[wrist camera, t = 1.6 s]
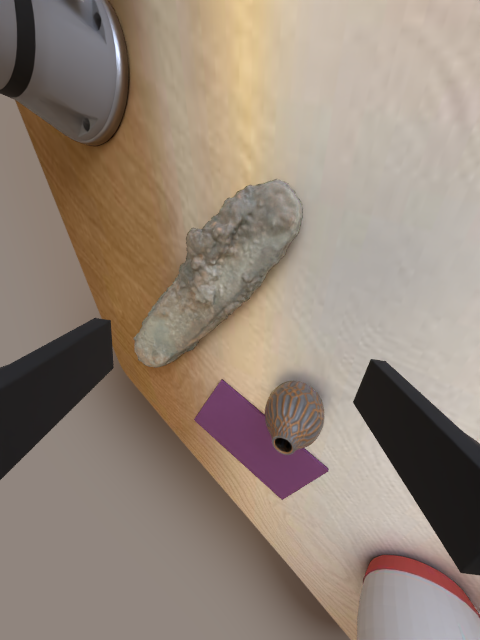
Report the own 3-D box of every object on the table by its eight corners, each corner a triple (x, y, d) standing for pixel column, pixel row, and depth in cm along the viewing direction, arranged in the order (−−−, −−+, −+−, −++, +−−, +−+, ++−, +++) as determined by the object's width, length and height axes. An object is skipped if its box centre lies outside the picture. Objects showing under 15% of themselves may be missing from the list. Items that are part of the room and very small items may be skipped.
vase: (309, 366, 29) (295, 411, 21) (336, 411, 29) (331, 471, 21) (266, 381, 32) (240, 424, 25) (290, 421, 32) (272, 475, 25)
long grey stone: (139, 330, 43) (173, 369, 43) (114, 343, 38) (153, 387, 38) (263, 152, 23) (328, 226, 23) (241, 137, 18) (321, 228, 18)
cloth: (195, 418, 42) (193, 419, 41) (222, 379, 36) (220, 380, 35) (282, 497, 38) (282, 500, 38) (328, 468, 32) (328, 471, 32)
